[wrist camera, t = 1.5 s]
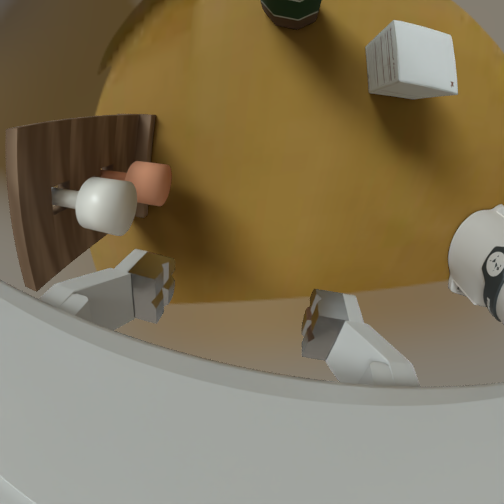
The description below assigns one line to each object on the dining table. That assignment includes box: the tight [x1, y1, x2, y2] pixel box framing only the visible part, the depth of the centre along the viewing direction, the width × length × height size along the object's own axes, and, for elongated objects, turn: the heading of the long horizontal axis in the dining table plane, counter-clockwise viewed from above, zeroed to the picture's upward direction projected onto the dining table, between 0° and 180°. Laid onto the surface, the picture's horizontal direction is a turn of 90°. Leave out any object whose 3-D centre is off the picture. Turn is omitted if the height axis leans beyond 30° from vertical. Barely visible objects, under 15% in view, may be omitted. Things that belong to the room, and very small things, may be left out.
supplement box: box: [365, 20, 458, 100], centre depth 24 cm, size 7×7×13 cm
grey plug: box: [51, 177, 137, 236], centre depth 24 cm, size 10×5×5 cm, turn 80°
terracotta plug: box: [100, 161, 172, 206], centre depth 32 cm, size 10×5×5 cm, turn 80°
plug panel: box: [6, 114, 156, 291], centre depth 29 cm, size 6×16×24 cm, turn 170°
